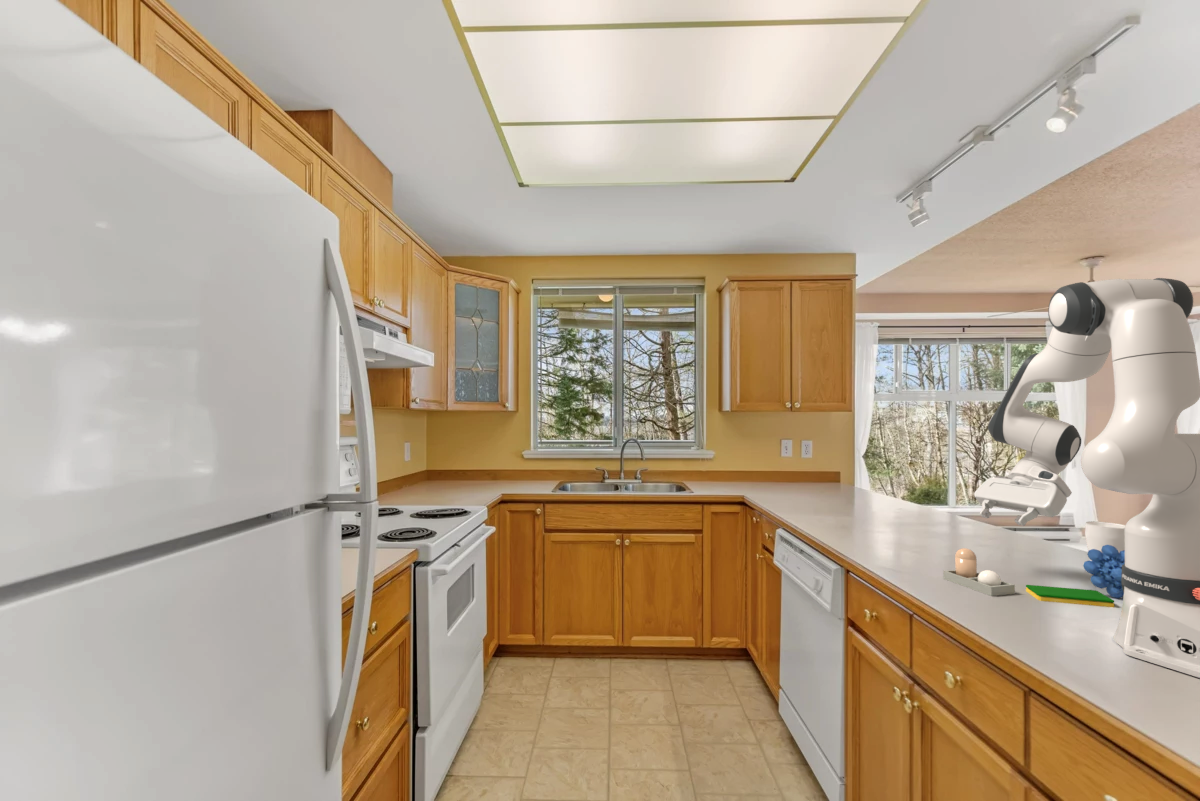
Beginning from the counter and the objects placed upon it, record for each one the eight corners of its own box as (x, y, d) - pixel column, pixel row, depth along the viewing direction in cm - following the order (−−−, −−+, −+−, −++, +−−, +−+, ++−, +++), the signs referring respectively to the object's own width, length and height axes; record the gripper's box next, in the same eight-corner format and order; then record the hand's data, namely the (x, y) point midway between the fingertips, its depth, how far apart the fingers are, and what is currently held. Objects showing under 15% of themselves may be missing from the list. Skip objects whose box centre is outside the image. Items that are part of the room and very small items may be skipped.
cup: (1088, 562, 156) (1088, 519, 156) (1133, 570, 149) (1132, 525, 149) (1081, 568, 150) (1081, 524, 150) (1127, 576, 143) (1127, 530, 143)
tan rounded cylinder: (981, 583, 135) (980, 550, 135) (966, 585, 134) (966, 551, 134) (965, 578, 140) (965, 545, 140) (951, 579, 138) (950, 547, 139)
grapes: (1087, 598, 126) (1086, 546, 127) (1081, 590, 132) (1081, 540, 132) (1157, 608, 120) (1157, 553, 120) (1148, 599, 126) (1148, 546, 126)
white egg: (1006, 592, 129) (1006, 572, 129) (990, 594, 128) (990, 574, 128) (988, 586, 134) (988, 567, 134) (972, 587, 133) (972, 568, 133)
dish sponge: (1115, 611, 120) (1115, 600, 120) (1038, 604, 124) (1038, 593, 124) (1097, 600, 126) (1096, 590, 126) (1025, 594, 131) (1025, 584, 131)
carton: (1014, 595, 128) (1014, 584, 128) (991, 598, 127) (991, 587, 127) (965, 578, 141) (965, 568, 141) (943, 580, 139) (943, 570, 139)
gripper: (985, 467, 152) (957, 504, 149) (1065, 476, 132) (1033, 519, 129) (998, 482, 153) (970, 520, 150) (1079, 494, 133) (1048, 537, 131)
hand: (1000, 519), depth 140 cm, fingers open, 8 cm apart
